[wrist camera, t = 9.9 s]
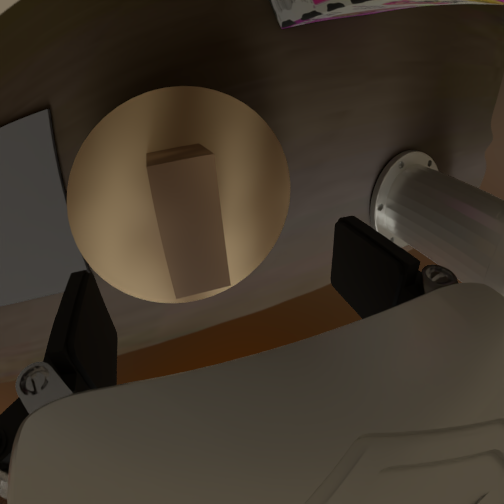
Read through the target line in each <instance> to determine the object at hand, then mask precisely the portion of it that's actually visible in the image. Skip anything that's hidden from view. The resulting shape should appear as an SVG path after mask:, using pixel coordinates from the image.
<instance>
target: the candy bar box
mask: <svg viewBox="0 0 504 504" xmlns="http://www.w3.org/2000/svg"><path fill="white" fill-rule="evenodd" d="M269 1H270V3H271V6H272V8H273V11H274V13H275V16H276V19H277V21H278V23H279V25H280V27H281V29H284V28H289V27H293V26H298V25H302V24H308V23H313V22H318V21H324V20H330V19H337V18H344V17H351V16H359V15H368V14H374V13H380V12H385V11H391V10H398V9H404V8H412V7H420V6H431V5H448V4H494V5H504V0H269Z"/></svg>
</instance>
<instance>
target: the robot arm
mask: <svg viewBox="0 0 504 504" xmlns="http://www.w3.org/2000/svg"><path fill="white" fill-rule="evenodd" d="M370 219H371V225H372V228H371V227H370V226H368V225H367V224H365V223H364V222H362V221H361V220H359V219H358V218H356V217H355V216H348V217H343V218H340V219H339V220H338V222H337V223H336V224H335V232H334V246H333V258H332V269H331V283H332V286H333V287H334V288H335V289H336V290H337V291H338V293H339V294H340V295H341V296H342V297H343V298H344V299H345V300H346V301H347V302H348V303H349V304H350V306H351V307H352V308H353V309H354V310H355V311H356V312H357V313H358V314H359V315H360V317H361V318H362V320H359V321H356V322H354V323H351V324H348V325H345V326H342V327H340V328H337V329H334V330H331V331H328V332H325V333H322V334H319V335H316V336H314V337H310V338H307V339H304V340H301V341H298V342H295V343H292V344H288V345H285V346H282V347H278V348H275V349H272V350H268V351H265V352H261V353H258V354H255V355H251V356H247V357H244V358H240V359H236V360H232V361H228V362H225V363H220V364H217V365H213V366H208V367H204V368H200V369H195V370H191V371H186V372H182V373H177V374H173V375H168V376H163V377H158V378H153V379H147V380H142V381H136V382H130V383H125V384H120V385H117V383H116V382H117V377H116V376H117V371H116V370H117V332H116V329H115V327H114V325H113V322H112V320H111V318H110V315H109V313H108V311H107V308H106V306H105V303H104V301H103V298H102V296H101V293H100V291H99V288H98V286H97V283H96V280H95V278H94V275H93V274H92V273H88V272H87V270H82V271H78V272H73V273H71V275H70V277H69V280H68V283H67V286H66V289H65V291H64V294H63V297H62V300H61V303H60V306H59V309H58V312H57V315H56V317H55V321H54V324H53V327H52V331H51V334H50V338H49V341H48V345H47V349H46V353H45V357H44V361H43V362H36V363H33V364H30V365H29V366H27V367H26V368H25V369H24V370H23V371H21V373H20V374H19V376H18V378H17V381H16V391H17V393H18V396H19V398H18V399H17V400H16V401H15V402H13V404H11V405H10V406H9V407H8V408H7V409H6V410H5V411H4V412H3V413H2V414H1V415H0V504H504V200H502V199H500V198H498V197H495V196H494V195H492V194H490V193H487V192H485V191H483V190H481V189H479V188H477V187H474V186H472V185H470V184H468V183H465V182H463V181H461V180H458V179H456V178H454V177H451V176H449V175H446V174H444V173H441V172H439V171H438V168H437V166H436V164H435V162H434V161H433V159H432V158H431V157H430V156H429V155H427V154H425V153H423V152H420V151H417V150H408V151H404V152H402V153H400V154H398V155H397V156H395V157H394V158H393V159H392V160H391V161H390V162H389V163H388V164H387V165H386V167H385V168H384V169H383V171H382V172H381V174H380V176H379V178H378V180H377V182H376V185H375V187H374V191H373V194H372V198H371V205H370ZM408 244H409V245H411V246H412V247H414V248H415V249H417V250H418V251H419V252H421V253H422V254H424V255H425V256H427V257H428V258H430V259H431V260H432V261H434V262H435V263H437V264H438V265H427V266H425V267H424V268H423V269H422V272H420V271H419V270H418V269H419V265H420V261H419V260H417V259H416V258H415V257H413V256H412V255H411V254H409V253H408V252H406V251H405V250H404V249H402V248H401V247H403V246H406V245H408ZM439 265H440V266H439ZM457 279H459V280H460V281H462V282H463V283H458V281H457Z"/></svg>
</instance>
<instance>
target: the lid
mask: <svg viewBox="0 0 504 504" xmlns="http://www.w3.org/2000/svg"><path fill="white" fill-rule="evenodd" d="M289 201H290V176H289V169H288V165H287V161H286V157H285V155H284V152H283V149H282V147H281V145H280V143H279V141H278V139H277V137H276V135H275V134H274V132H273V131H272V130H271V128H270V127H269V126H268V124H267V123H266V122H265V121H264V120H263V119H262V118H261V117H260V116H259V115H258V114H257V113H256V112H255V111H254V110H252V109H251V108H250V107H248V106H247V105H246V104H244V103H243V102H241V101H239V100H237V99H235V98H234V97H232V96H230V95H227V94H224V93H222V92H219V91H216V90H212V89H207V88H202V87H194V86H175V87H165V88H161V89H157V90H153V91H149V92H146V93H144V94H141V95H139V96H136V97H134V98H132V99H130V100H128V101H126V102H125V103H123V104H121V105H120V106H118V107H117V108H115V109H114V110H113V111H111V112H110V113H109V114H108V115H106V116H105V117H104V118H103V119H102V120H101V121H100V122H99V123H98V124H97V125H96V126H95V127H94V129H93V130H92V131H91V132H90V134H89V135H88V137H87V138H86V139H85V141H84V142H83V144H82V146H81V148H80V150H79V152H78V154H77V156H76V158H75V160H74V163H73V166H72V169H71V172H70V177H69V182H68V187H67V213H68V220H69V224H70V228H71V232H72V235H73V237H74V240H75V242H76V245H77V247H78V249H79V250H80V252H81V254H82V255H83V257H84V259H85V260H86V261H87V263H88V264H89V265H90V266H91V268H92V269H93V270H94V271H95V272H96V273H97V274H98V275H99V276H100V277H101V278H102V279H104V280H105V281H106V282H108V283H109V284H111V285H112V286H113V287H115V288H117V289H119V290H120V291H122V292H124V293H126V294H129V295H131V296H134V297H136V298H140V299H144V300H147V301H153V302H160V303H183V302H191V301H196V300H201V299H204V298H207V297H210V296H213V295H216V294H218V293H220V292H223V291H225V290H227V289H228V288H230V287H232V286H234V285H235V284H237V283H238V282H240V281H241V280H243V279H244V278H245V277H247V276H248V275H249V274H250V273H251V272H252V271H253V270H255V269H256V268H257V267H258V266H259V264H260V263H261V262H262V261H263V260H264V259H265V258H266V256H267V255H268V254H269V252H270V251H271V249H272V248H273V246H274V244H275V243H276V241H277V239H278V237H279V235H280V233H281V231H282V228H283V226H284V223H285V220H286V216H287V213H288V207H289Z"/></svg>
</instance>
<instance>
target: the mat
mask: <svg viewBox="0 0 504 504" xmlns="http://www.w3.org/2000/svg"><path fill="white" fill-rule="evenodd" d="M82 270H87V272H88V273H90V271H89V268H88V265H87V262H86V260H85V259H84V257H83V255H82V254H81V252H80V250H79V249H78V247H77V245H76V242H75V240H74V237H73V235H72V232H71V228H70V224H69V220H68V213H67V197H66V193H65V189H64V184H63V180H62V176H61V171H60V167H59V162H58V157H57V152H56V146H55V141H54V135H53V128H52V122H51V114H50V109H46V110H43V111H40V112H38V113H35V114H32V115H30V116H27V117H24V118H22V119H19V120H17V121H15V122H12V123H10V124H7V125H5V126H3V127H1V128H0V306H4V305H9V304H13V303H17V302H22V301H26V300H30V299H35V298H39V297H43V296H48V295H52V294H56V293H61V292H64V291H65V289H66V286H67V283H68V280H69V277H70V275H71V273H73V272H78V271H82Z"/></svg>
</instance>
